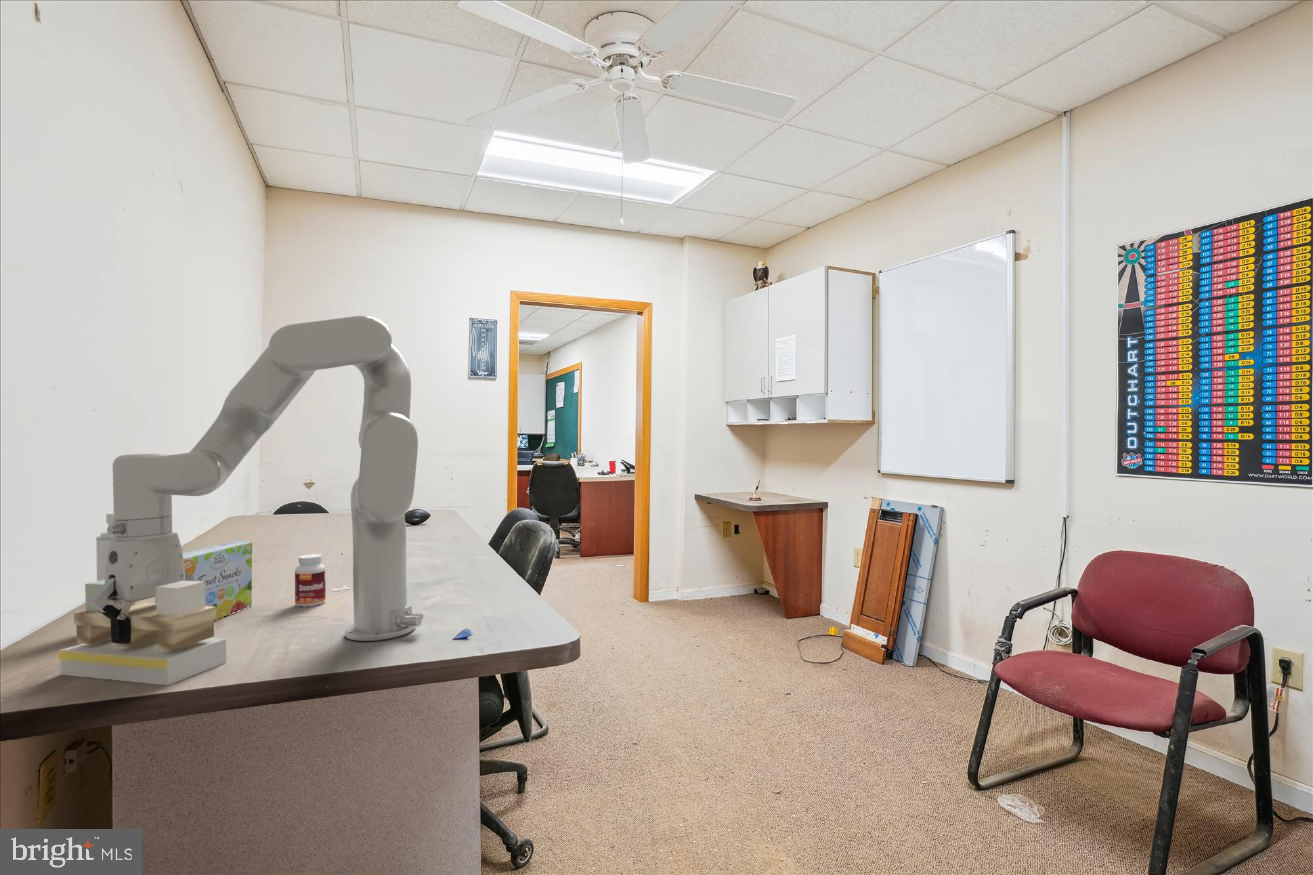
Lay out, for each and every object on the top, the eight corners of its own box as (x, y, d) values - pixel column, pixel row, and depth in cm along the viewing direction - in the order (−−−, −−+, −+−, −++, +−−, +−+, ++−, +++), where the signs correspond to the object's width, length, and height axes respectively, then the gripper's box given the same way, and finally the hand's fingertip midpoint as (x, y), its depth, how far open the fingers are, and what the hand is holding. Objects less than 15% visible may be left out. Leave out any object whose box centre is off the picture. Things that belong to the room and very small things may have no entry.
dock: (226, 662, 106) (225, 638, 106) (165, 686, 96) (165, 660, 96) (125, 653, 112) (125, 631, 112) (58, 675, 102) (58, 650, 102)
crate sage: (134, 604, 108) (134, 578, 108) (106, 611, 103) (105, 584, 103) (114, 603, 109) (114, 577, 109) (85, 610, 104) (85, 583, 104)
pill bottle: (296, 609, 140) (295, 559, 140) (293, 603, 145) (292, 555, 145) (327, 604, 143) (327, 556, 143) (323, 599, 148) (323, 552, 148)
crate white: (205, 608, 104) (204, 581, 104) (178, 616, 100) (178, 588, 100) (183, 607, 105) (183, 580, 105) (156, 614, 101) (155, 587, 101)
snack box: (181, 636, 122) (180, 558, 122) (153, 636, 122) (152, 558, 122) (254, 606, 143) (253, 540, 143) (229, 606, 143) (228, 540, 143)
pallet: (216, 636, 105) (215, 606, 105) (175, 650, 98) (174, 618, 98) (119, 629, 110) (119, 601, 110) (74, 642, 103) (73, 612, 103)
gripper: (104, 537, 95) (106, 654, 95) (210, 521, 112) (212, 621, 112) (66, 536, 97) (69, 651, 97) (177, 520, 114) (179, 619, 114)
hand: (146, 634), depth 104 cm, fingers closed on pallet, 7 cm apart
